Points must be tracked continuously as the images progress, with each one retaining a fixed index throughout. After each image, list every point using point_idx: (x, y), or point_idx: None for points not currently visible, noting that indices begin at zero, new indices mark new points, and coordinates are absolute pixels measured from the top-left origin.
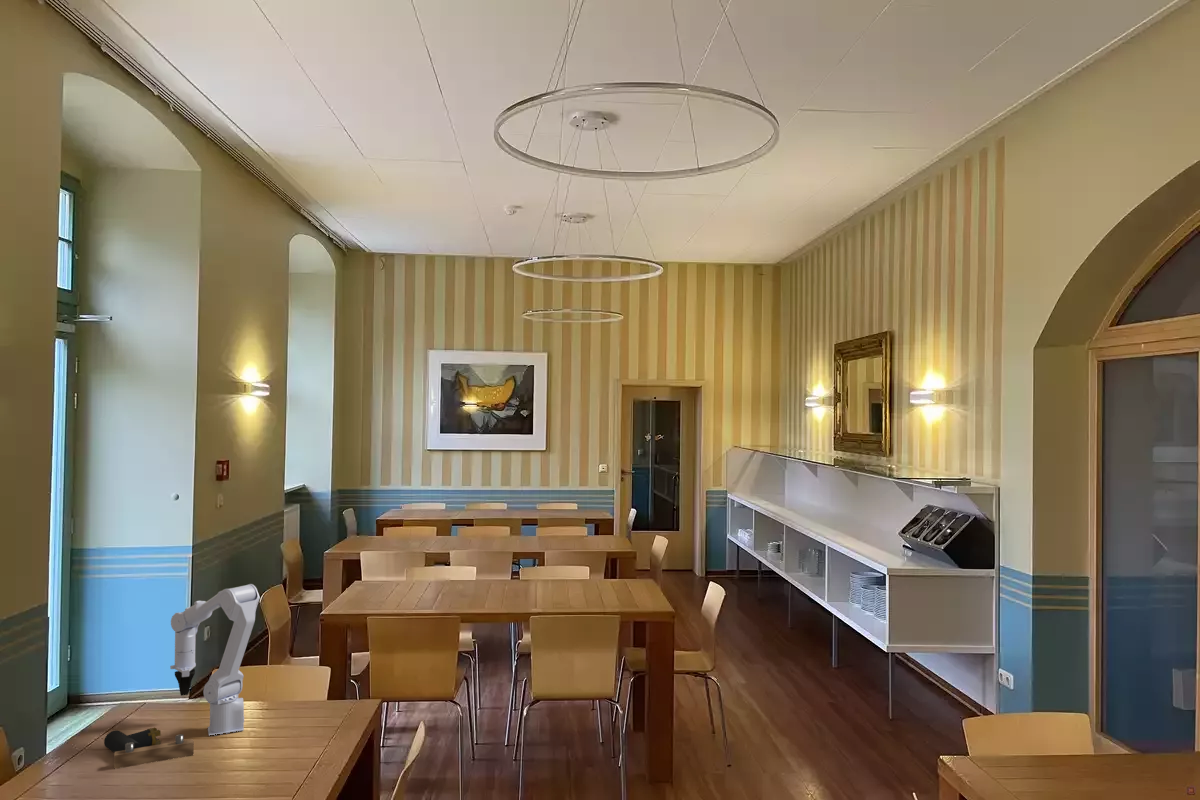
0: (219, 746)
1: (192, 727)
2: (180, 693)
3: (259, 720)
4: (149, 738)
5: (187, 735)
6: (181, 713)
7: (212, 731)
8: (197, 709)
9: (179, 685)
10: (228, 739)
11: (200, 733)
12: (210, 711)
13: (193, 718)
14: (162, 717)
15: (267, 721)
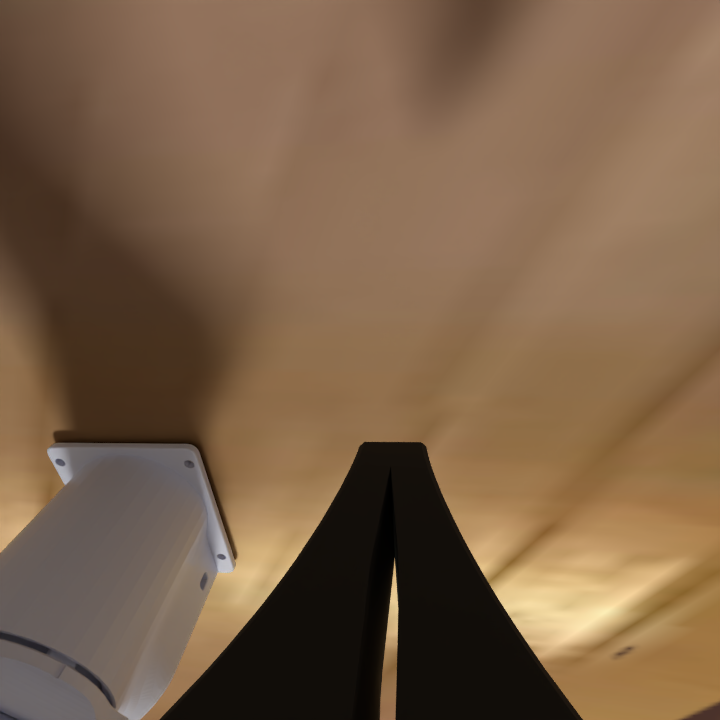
0: None
1: (253, 370)
2: (357, 459)
3: (254, 613)
4: None
5: (99, 341)
6: (658, 303)
7: (81, 467)
8: (672, 408)
9: (290, 573)
10: (14, 504)
11: (123, 406)
12: (7, 561)
13: (455, 379)
14: (664, 140)
15: (229, 629)
